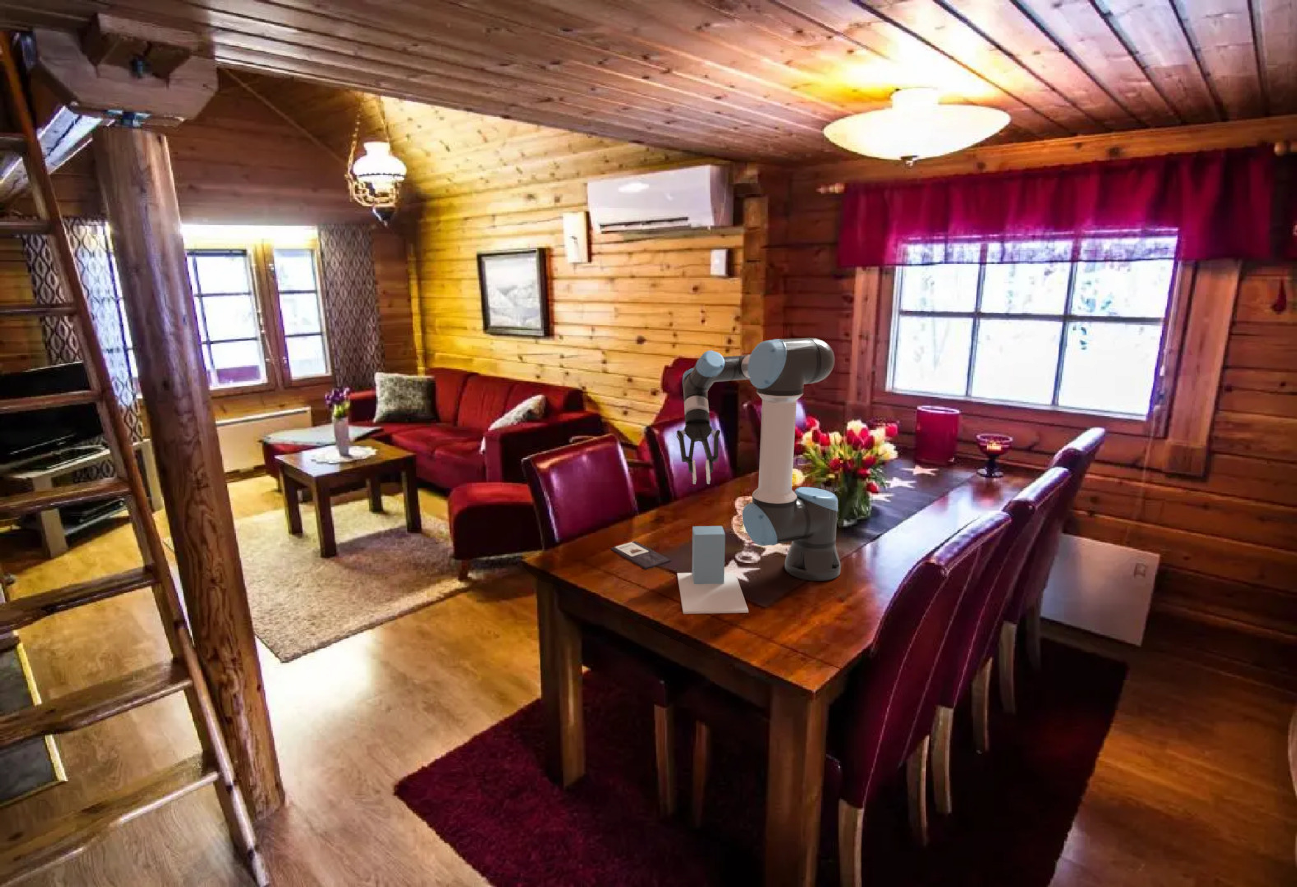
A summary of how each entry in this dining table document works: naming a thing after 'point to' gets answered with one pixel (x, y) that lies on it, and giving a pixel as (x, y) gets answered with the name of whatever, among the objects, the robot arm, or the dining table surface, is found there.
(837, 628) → the dining table surface
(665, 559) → the chocolate bar
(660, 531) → the dining table surface
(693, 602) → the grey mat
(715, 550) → the blue block
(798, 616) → the dining table surface
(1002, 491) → the dining table surface
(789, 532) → the robot arm
